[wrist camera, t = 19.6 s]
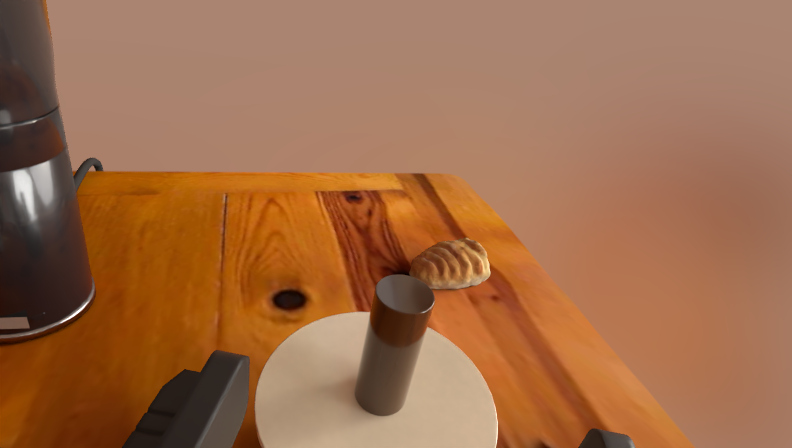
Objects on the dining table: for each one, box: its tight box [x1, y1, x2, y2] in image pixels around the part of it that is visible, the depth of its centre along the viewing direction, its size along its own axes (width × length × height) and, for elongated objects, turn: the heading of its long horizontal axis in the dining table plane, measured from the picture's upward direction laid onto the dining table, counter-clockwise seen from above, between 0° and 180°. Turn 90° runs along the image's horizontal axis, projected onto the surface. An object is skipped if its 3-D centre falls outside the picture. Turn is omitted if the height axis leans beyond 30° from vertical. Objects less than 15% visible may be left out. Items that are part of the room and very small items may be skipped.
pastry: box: [409, 238, 490, 290], centre depth 52 cm, size 9×7×4 cm
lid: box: [254, 275, 498, 448], centre depth 25 cm, size 14×14×9 cm
